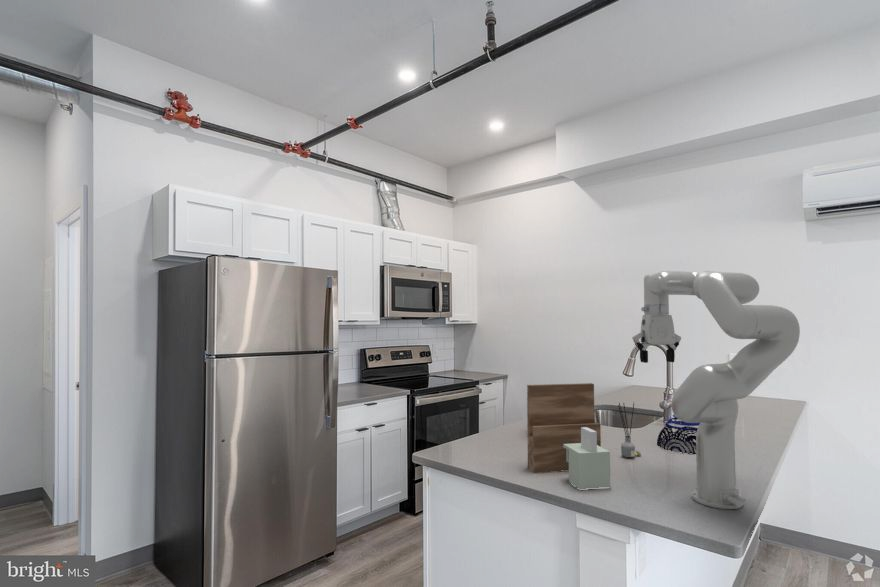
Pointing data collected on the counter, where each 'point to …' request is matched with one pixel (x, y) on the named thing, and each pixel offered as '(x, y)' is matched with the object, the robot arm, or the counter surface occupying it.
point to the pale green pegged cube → (588, 462)
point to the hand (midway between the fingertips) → (657, 362)
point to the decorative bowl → (678, 435)
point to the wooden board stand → (557, 422)
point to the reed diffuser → (628, 440)
